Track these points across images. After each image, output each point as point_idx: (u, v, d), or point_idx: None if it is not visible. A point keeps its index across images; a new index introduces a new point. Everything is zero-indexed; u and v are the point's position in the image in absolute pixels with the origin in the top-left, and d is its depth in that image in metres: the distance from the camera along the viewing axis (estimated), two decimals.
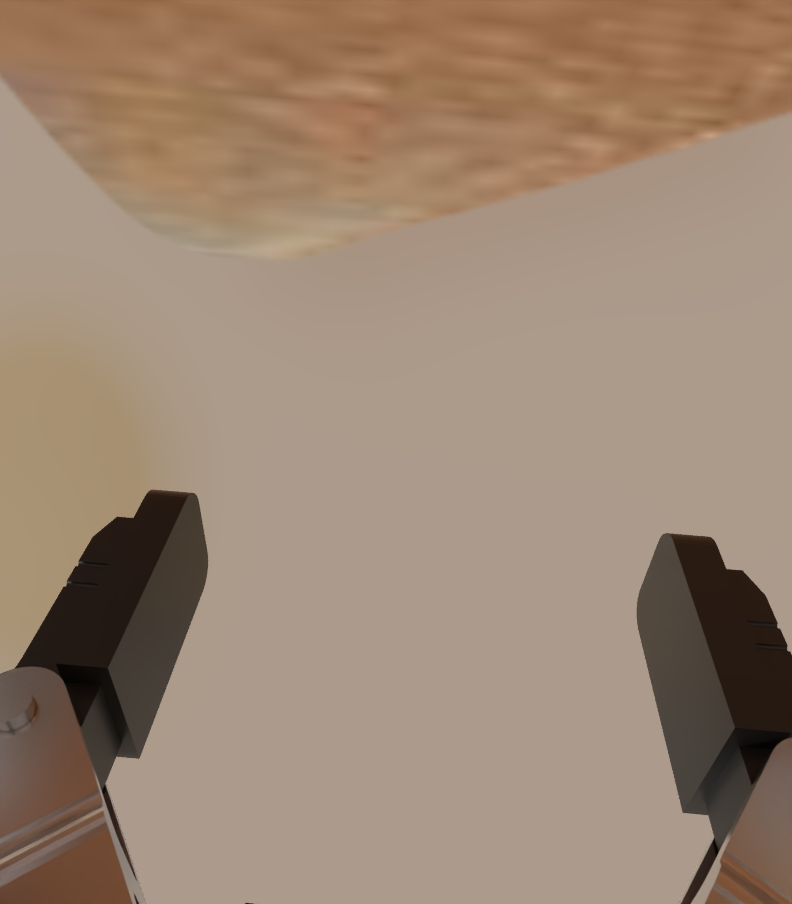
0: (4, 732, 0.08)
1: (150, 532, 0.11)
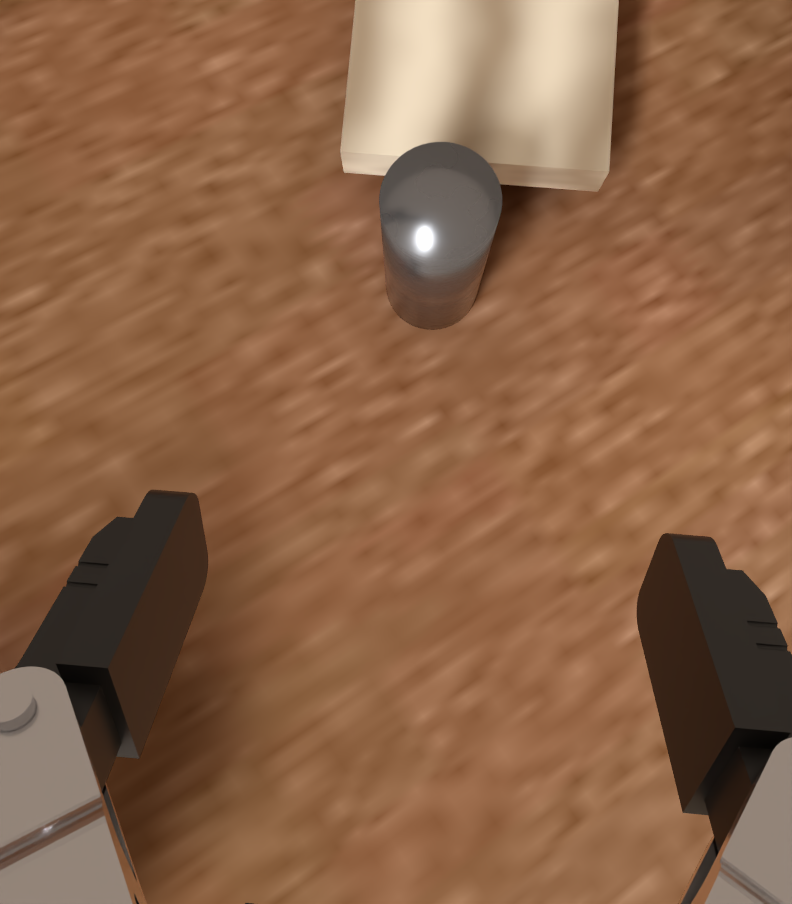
0: (4, 732, 0.08)
1: (150, 532, 0.11)
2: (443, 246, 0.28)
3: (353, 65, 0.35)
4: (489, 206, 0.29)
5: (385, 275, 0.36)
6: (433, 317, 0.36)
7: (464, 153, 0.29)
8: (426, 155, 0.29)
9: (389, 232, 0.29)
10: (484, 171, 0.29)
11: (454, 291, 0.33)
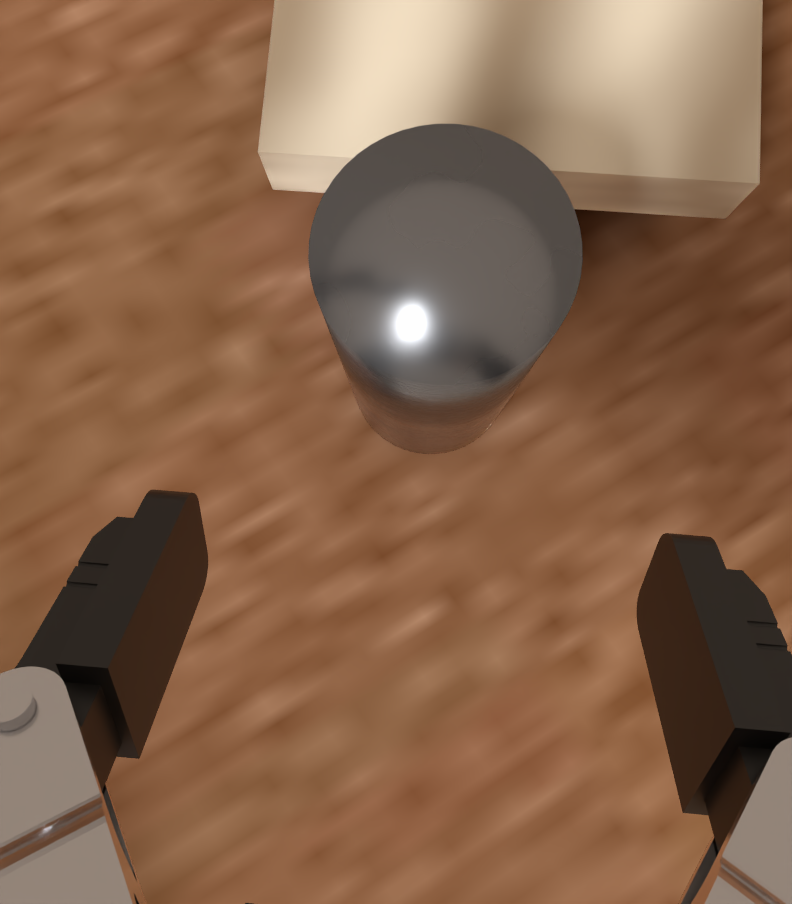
0: (4, 732, 0.08)
1: (150, 532, 0.11)
2: (452, 356, 0.13)
3: None
4: (554, 265, 0.13)
5: None
6: (433, 444, 0.20)
7: (496, 148, 0.13)
8: (412, 153, 0.13)
9: (331, 325, 0.13)
10: (541, 187, 0.13)
11: (472, 417, 0.17)
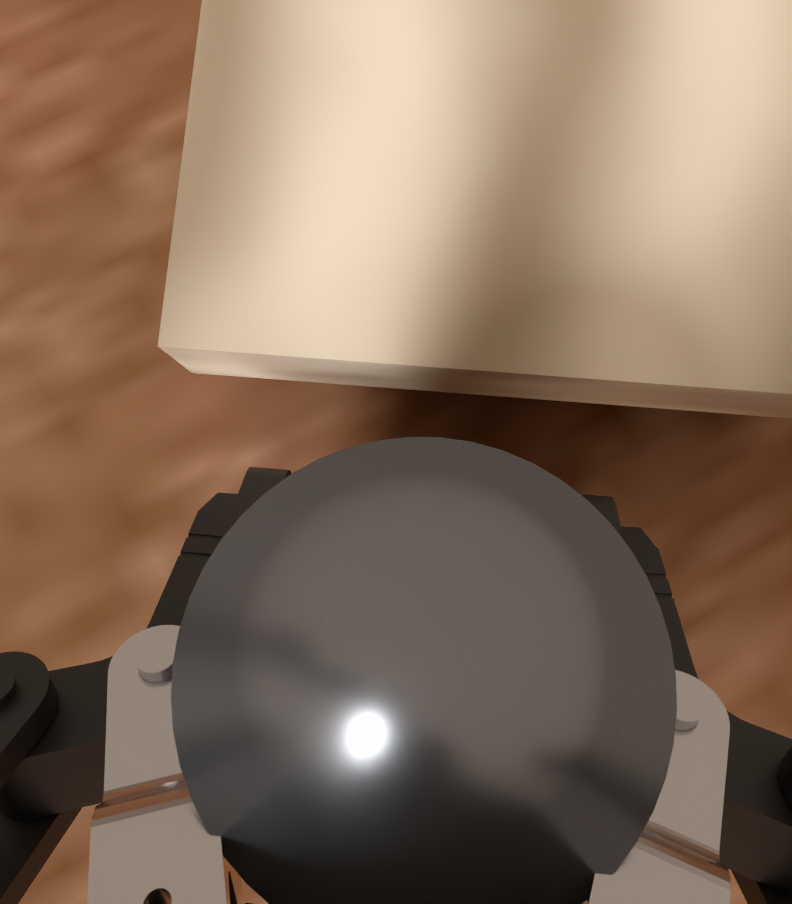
0: (155, 684, 0.09)
1: None
2: (433, 903, 0.07)
3: (199, 113, 0.13)
4: (624, 718, 0.07)
5: None
6: None
7: (517, 486, 0.07)
8: (365, 494, 0.07)
9: (210, 827, 0.07)
10: (599, 563, 0.07)
11: None
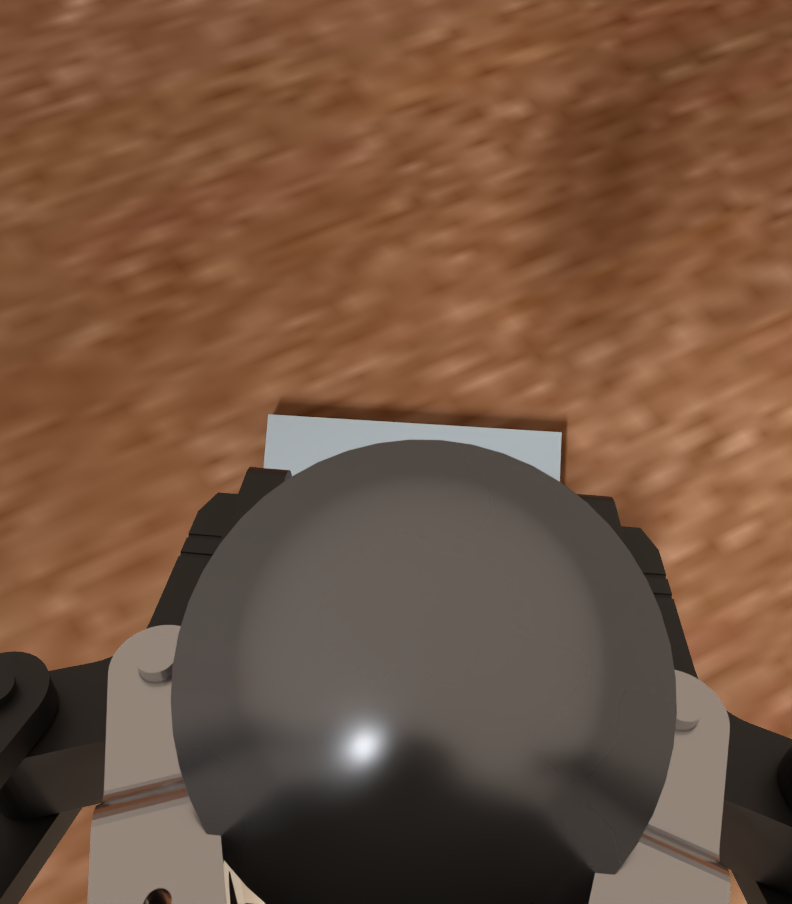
0: (155, 684, 0.09)
1: None
2: None
3: None
4: (624, 722, 0.07)
5: None
6: None
7: (516, 488, 0.07)
8: (364, 496, 0.07)
9: (209, 829, 0.07)
10: (599, 566, 0.07)
11: None
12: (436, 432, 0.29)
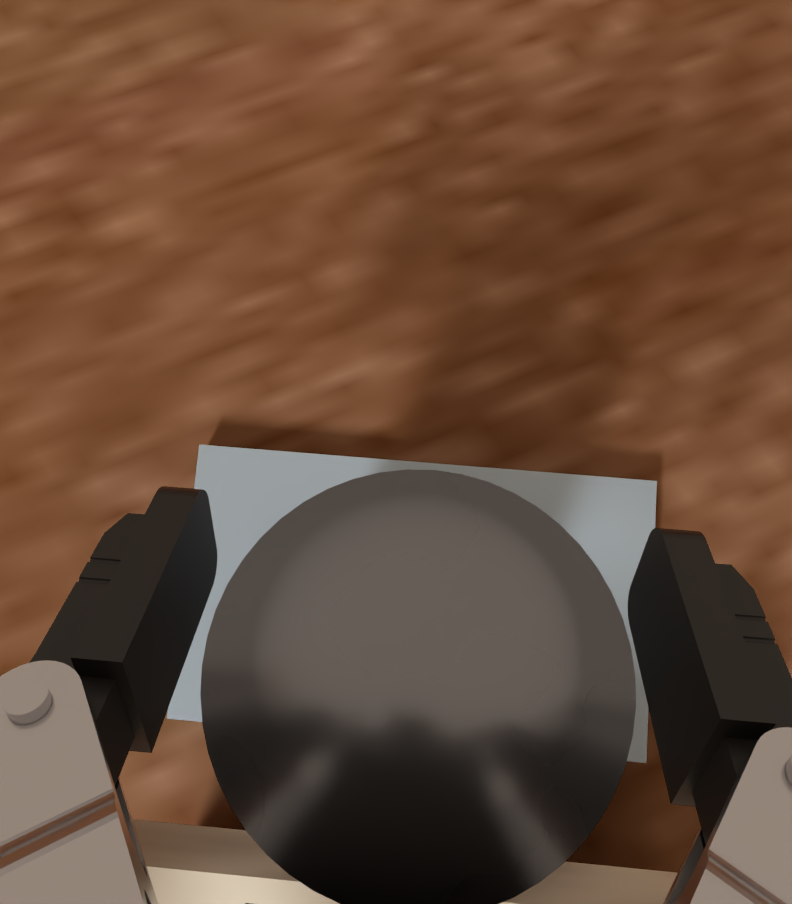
0: (21, 725, 0.08)
1: (162, 528, 0.11)
2: (426, 870, 0.08)
3: None
4: (591, 713, 0.08)
5: None
6: None
7: (499, 512, 0.08)
8: (368, 519, 0.08)
9: (234, 806, 0.08)
10: (570, 580, 0.08)
11: None
12: None
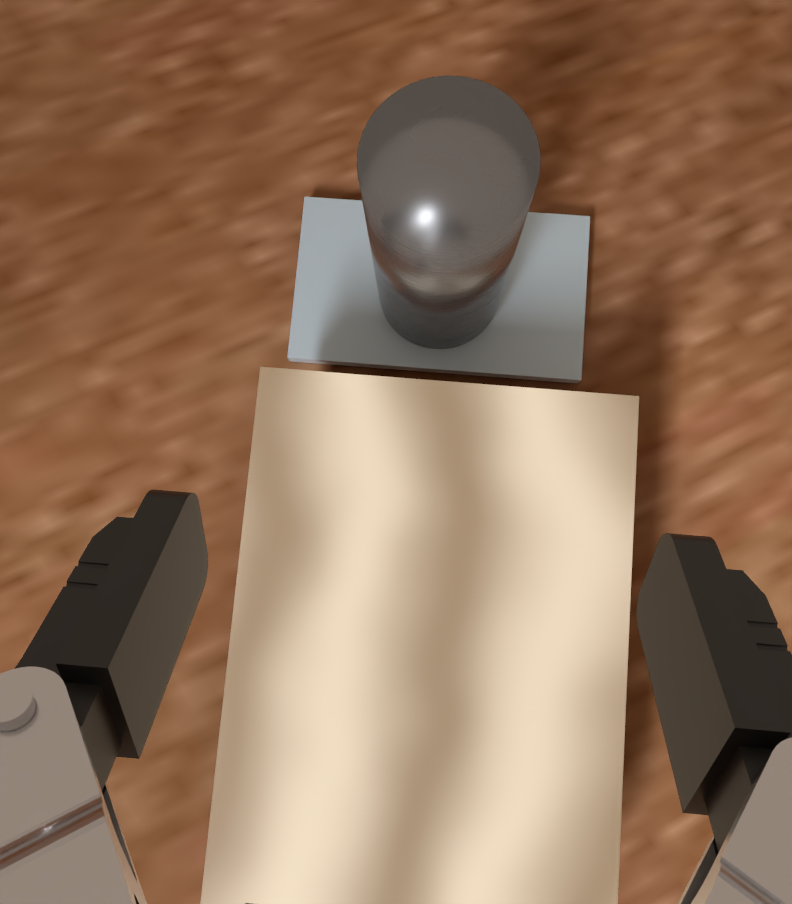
0: (4, 732, 0.08)
1: (150, 532, 0.11)
2: (451, 229, 0.19)
3: (221, 774, 0.23)
4: (521, 170, 0.19)
5: (375, 276, 0.27)
6: (440, 333, 0.27)
7: (484, 92, 0.19)
8: (427, 95, 0.20)
9: (371, 208, 0.19)
10: (514, 118, 0.19)
11: (468, 297, 0.23)
12: None
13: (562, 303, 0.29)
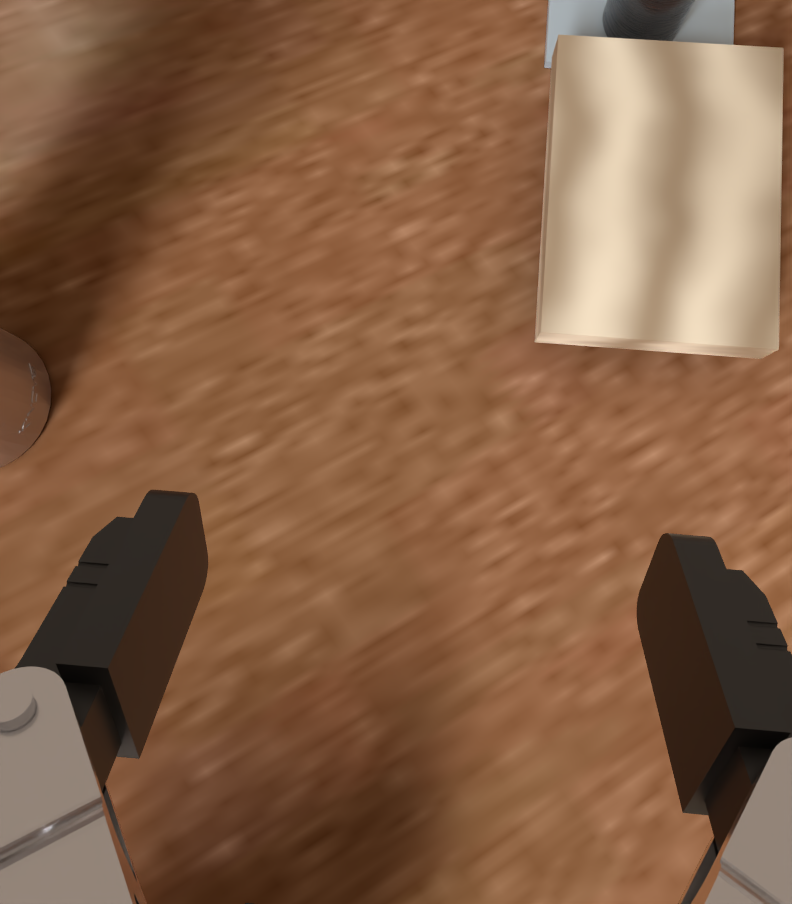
0: (4, 732, 0.08)
1: (150, 532, 0.11)
2: None
3: (549, 254, 0.40)
4: None
5: None
6: (653, 31, 0.44)
7: None
8: None
9: None
10: None
11: None
12: None
13: (719, 27, 0.46)
